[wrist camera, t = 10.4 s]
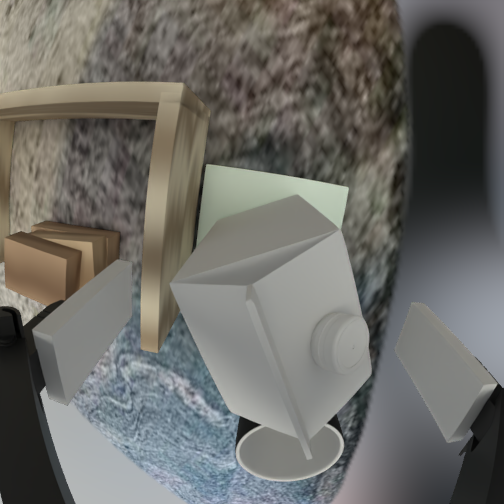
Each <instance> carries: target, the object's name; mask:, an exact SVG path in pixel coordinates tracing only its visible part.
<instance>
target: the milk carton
mask: <svg viewBox="0 0 504 504" xmlns="http://www.w3.org/2000/svg"><path fill="white" fill-rule="evenodd" d="M169 284H170V287H171V290H172V292H173V294H174V297H175V299H176V301H177V304H178V306H179V308H180V310H181V313H182V315H183V317H184V319H185V322H186V324H187V326H188V328H189V330H190V332H191V335H192V337H193V339H194V341H195V343H196V345H197V347H198V349H199V351H200V354H201V356H202V358H203V360H204V362H205V364H206V366H207V368H208V370H209V372H210V374H211V376H212V378H213V380H214V382H215V384H216V386H217V388H218V390H219V392H220V394H221V395H222V397H223V399H224V401H225V403H226V405H227V407H228V408H229V410H230V411H231V412H232V413H234V414H237V415H239V416H241V417H244V418H246V419H249V420H251V421H253V422H256V423H258V424H261V425H263V426H266V427H269V428H271V429H274V430H276V431H279V432H282V433H284V434H287V435H290V436H293V437H296V438H298V439H299V441H300V444H301V446H302V448H303V451H304V453H305V456H306V458H307V460H309V459H312V453H311V447H310V439H311V438H312V437H313V436H314V435H315V434H316V433H317V432H318V431H319V430H320V429H321V428H322V427H323V426H324V425H325V424H326V423H327V422H328V421H329V420H330V419H331V418H332V417H333V416H334V415H335V414H336V413H337V412H338V411H339V410H340V409H341V408H342V407H343V406H344V405H345V404H346V403H347V402H348V400H349V399H350V398H351V397H352V396H353V395H354V394H355V393H356V392H357V391H358V389H359V388H360V387H361V386H362V385H363V384H364V383H365V381H366V380H367V379H368V378H369V377H370V375H371V371H372V369H371V361H370V354H369V349H368V346H369V330H368V326H367V324H366V322H365V320H364V319H363V317H362V313H361V308H360V303H359V298H358V294H357V289H356V285H355V280H354V276H353V272H352V268H351V264H350V260H349V256H348V252H347V248H346V244H345V241H344V237H343V235H342V232H341V230H340V229H339V228H338V227H337V226H336V225H335V224H334V223H333V222H331V221H330V220H329V219H328V218H327V217H325V216H324V215H323V214H322V213H321V212H319V211H318V210H317V209H316V208H314V207H313V206H312V205H311V204H310V203H308V202H307V201H306V200H305V199H303V198H302V197H301V196H300V195H298V194H296V195H293V196H290V197H287V198H283V199H280V200H277V201H274V202H271V203H268V204H265V205H262V206H259V207H255V208H252V209H249V210H246V211H243V212H240V213H237V214H234V215H231V216H228V217H225V218H222V219H219V220H217V221H216V223H215V224H214V225H213V227H212V228H211V229H210V231H209V232H208V233H207V234H206V236H205V237H204V238H203V240H202V241H201V242H200V244H199V245H198V246H197V248H196V249H195V250H194V252H193V253H192V254H191V256H190V257H189V258H188V260H187V261H186V262H185V264H184V265H183V266H182V268H181V269H180V270H179V272H178V273H177V274H176V276H175V277H174V278H173V280H172V281H171V282H170V283H169Z"/></svg>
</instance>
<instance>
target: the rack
mask: <svg viewBox="0 0 504 504" xmlns="http://www.w3.org/2000/svg"><path fill="white" fill-rule="evenodd" d="M210 114H211V111H210V110H209V108H208V107H207V106H206V105H205V104H204V103H203V102H202V101H201V100H200V99H199V98H198V97H197V96H196V95H195V94H194V93H193V92H192V91H191V90H190V89H189V88H188V87H187V86H186V85H185V84H184V83H174V82H100V83H82V84H69V85H58V86H49V87H40V88H33V89H25V90H19V91H13V92H7V93H1V94H0V263H2V262H4V261H5V254H4V245H5V237H7V236H10V229H9V189H10V168H11V155H12V144H13V135H14V127H15V122H16V121H29V120H47V119H79V118H108V119H142V120H156V126H155V133H154V140H153V147H152V154H151V162H150V171H149V180H148V189H147V199H146V210H145V223H144V237H143V254H142V277H141V350H146V351H150V352H155V353H158V352H159V350H160V348H161V346H162V344H163V342H164V340H165V338H166V337H167V335H168V333H169V331H170V329H171V327H172V325H173V323H174V321H175V319H176V317H177V316H178V314H179V312H180V308H179V306H178V304H177V301H176V299H175V297H174V294H173V292H172V290H171V287H170V284H169V283H170V282H171V281H172V280H173V278H174V277H175V276H176V274H177V273H178V272H179V270H180V269H181V268H182V266H183V265H184V264H185V262H186V261H187V260H188V258H189V257H190V256H191V254H192V250H193V240H194V231H195V222H196V214H197V205H198V197H199V189H200V182H201V174H202V167H203V160H204V153H205V146H206V139H207V133H208V126H209V120H210Z"/></svg>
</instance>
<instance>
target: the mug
mask: <svg viewBox="0 0 504 504" xmlns="http://www.w3.org/2000/svg"><path fill="white" fill-rule="evenodd" d="M310 447H311V453H312V459H309V460H307V458H306V456H305V453H304V451H303V448H302V446H301V444H300V441H299V439H298V438H296V437H293V436H290V435H287V434H284V433H282V432H279V431H276V430H274V429H271V428H269V427H266V426H263V425H261V424H258V423H256V422H253V421H251V420H249V419H246V418H244V417H241V416H240V419H239V424H238V430H237V437H236V447H235V453H236V458H237V460H238V462H239V464H240V465H241V466H242V467H243V468H244V469H245V470H246V471H248V472H249V473H251V474H253V475H255V476H257V477H260V478H263V479H267V480H272V481H296V480H302V479H306V478H309V477H312V476H315V475H317V474H320V473H322V472H323V471H325V470H327V469H328V468H330V467H331V466H332V465H333V464H334V463H335V462H336V461H337V460H338V459H339V457H340V456H341V454H342V452H343V448H344V439H343V434H342V430H341V427H340V424H339V421H338V418H337V415H336V414H335V415H334V416H333V417H332V418H331V419H330V420H329V421H328V422H327V423H326V424H325V425H324V426H323V427H322V428H321V429H320V430H319V431H318V432H317V433H316V434H315V435H314V436H313V437H312V438H311V439H310Z"/></svg>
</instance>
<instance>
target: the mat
mask: <svg viewBox="0 0 504 504" xmlns="http://www.w3.org/2000/svg"><path fill="white" fill-rule="evenodd" d="M348 190H349V187H345V186H340V185H335V184H330V183H324V182H319V181H314V180H308V179H303V178H297V177H291V176H285V175H279V174H273V173H267V172H261V171H254V170H247V169H240V168H233V167H226V166H218V165H210V164H206V171H205V178H204V185H203V193H202V201H201V209H200V217H199V226H198V235H197V244H196V248H197V246H198V245H199V244H200V242H201V241H202V240H203V238H204V237H205V236H206V234H207V233H208V232H209V231H210V229H211V228H212V227H213V225H214V224H215V223H216V221H217V220H219V219H222V218H225V217H228V216H231V215H234V214H237V213H240V212H243V211H246V210H249V209H252V208H255V207H259V206H262V205H265V204H268V203H271V202H274V201H277V200H280V199H283V198H287V197H290V196H293V195H296V194H298V195H300V196H301V197H302V198H303V199H305V200H306V201H307V202H308V203H310V204H311V205H312V206H313V207H314V208H316V209H317V210H318V211H319V212H321V213H322V214H323V215H324V216H325V217H327V218H328V219H329V220H330V221H331V222H333V223H334V224H335V225H336V226H337V227H338V228H339V229H340V230H341V226H342V221H343V216H344V211H345V206H346V201H347V195H348Z"/></svg>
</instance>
